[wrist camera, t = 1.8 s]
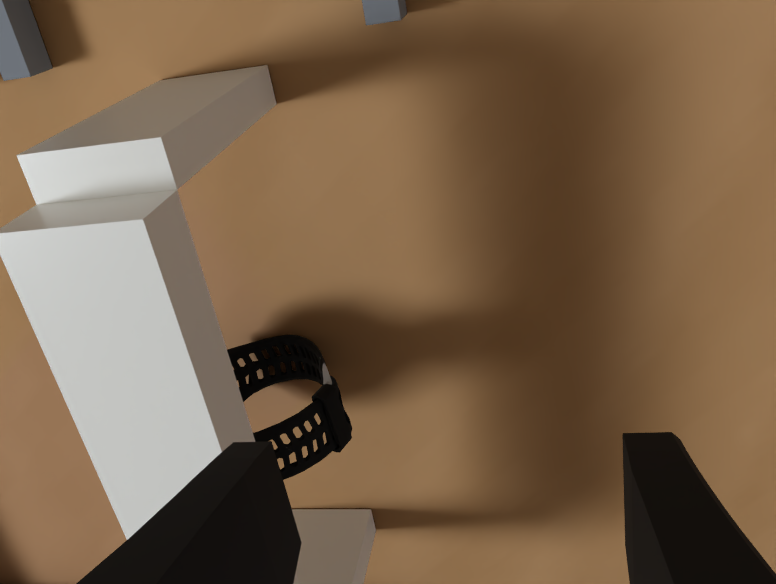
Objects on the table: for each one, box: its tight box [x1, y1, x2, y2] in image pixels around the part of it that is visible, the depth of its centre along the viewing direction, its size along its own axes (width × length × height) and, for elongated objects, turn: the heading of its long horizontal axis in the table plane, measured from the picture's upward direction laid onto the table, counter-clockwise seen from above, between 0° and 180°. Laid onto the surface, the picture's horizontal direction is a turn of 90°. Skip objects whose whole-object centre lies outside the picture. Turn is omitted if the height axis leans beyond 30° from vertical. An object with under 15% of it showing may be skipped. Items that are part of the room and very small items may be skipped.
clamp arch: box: [0, 65, 376, 584], centre depth 19 cm, size 3×16×8 cm, turn 10°
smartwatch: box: [227, 335, 352, 480], centre depth 21 cm, size 4×5×5 cm
